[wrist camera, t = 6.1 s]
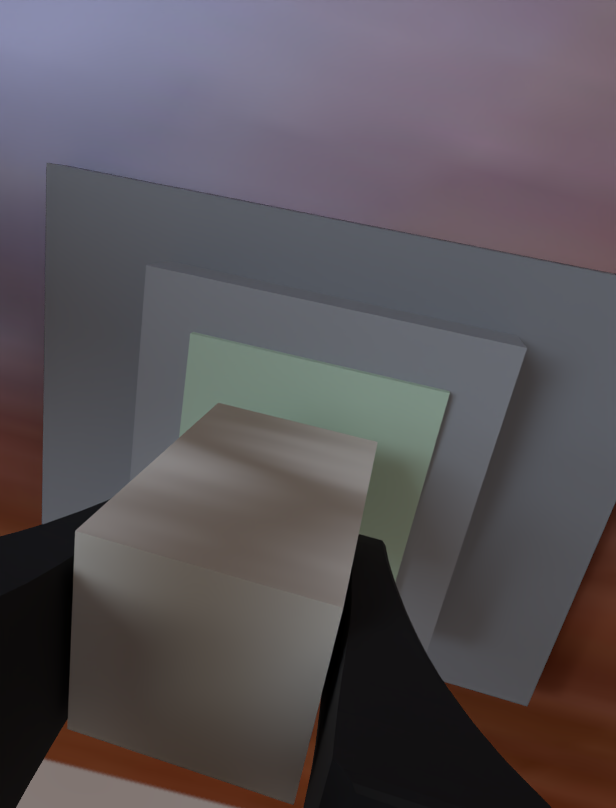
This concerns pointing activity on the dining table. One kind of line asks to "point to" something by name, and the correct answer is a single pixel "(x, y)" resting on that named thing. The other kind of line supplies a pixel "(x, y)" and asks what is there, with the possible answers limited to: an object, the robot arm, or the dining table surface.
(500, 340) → the stepped stand
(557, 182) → the dining table surface
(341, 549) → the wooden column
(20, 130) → the dining table surface
